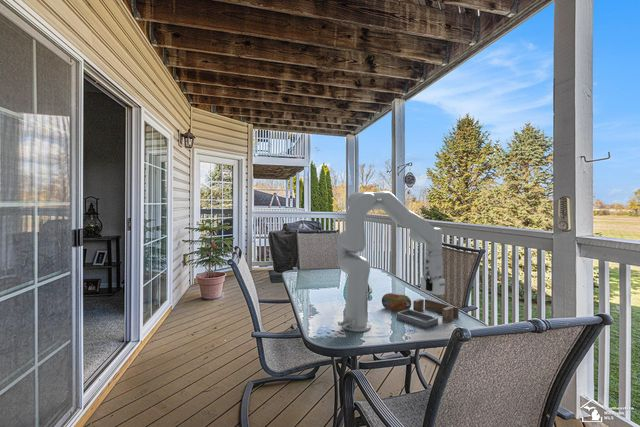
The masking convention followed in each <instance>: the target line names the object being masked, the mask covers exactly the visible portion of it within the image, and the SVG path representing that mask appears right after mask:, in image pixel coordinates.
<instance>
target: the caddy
mask: <svg viewBox="0 0 640 427" xmlns="http://www.w3.org/2000/svg"><path fill="white" fill-rule="evenodd" d="M428 278H429V279H430V277H428ZM446 285H447V282H446V278H442V277H440V278H436V277H433V278H432V291H428V290H426V282H425V279H424V277H423V275H422V276H420V292H423V293H428V294H433V295H436V296H441V295H445V293H446V292H445V290H446Z"/></svg>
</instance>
